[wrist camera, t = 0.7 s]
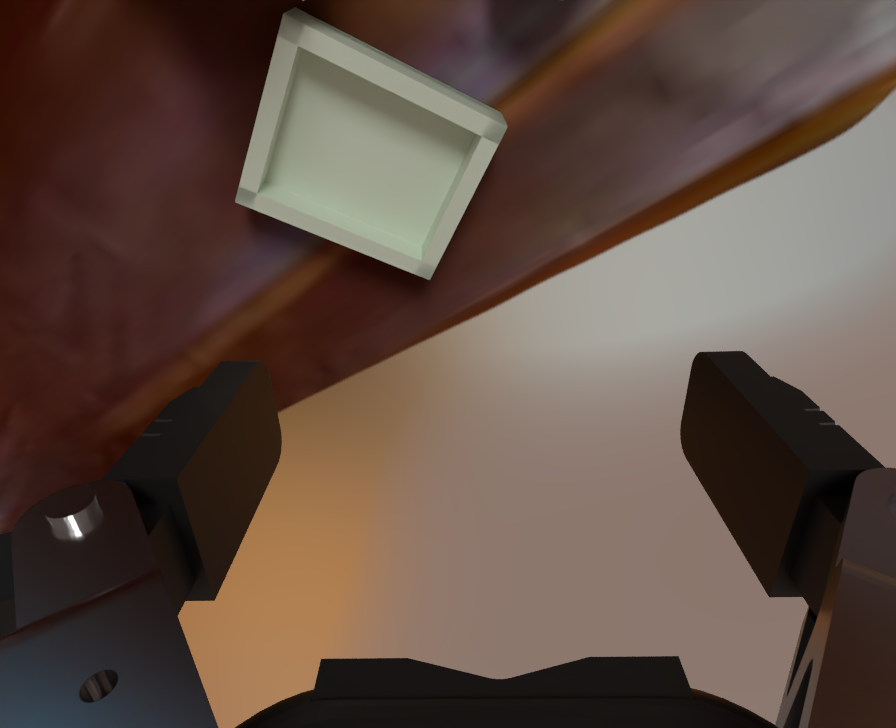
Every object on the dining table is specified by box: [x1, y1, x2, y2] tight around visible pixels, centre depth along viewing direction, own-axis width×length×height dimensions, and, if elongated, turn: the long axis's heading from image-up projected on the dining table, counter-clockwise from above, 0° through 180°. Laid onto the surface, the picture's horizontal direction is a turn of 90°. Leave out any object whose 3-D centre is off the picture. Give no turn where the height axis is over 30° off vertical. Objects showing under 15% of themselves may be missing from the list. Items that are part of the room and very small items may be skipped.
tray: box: [235, 7, 507, 280], centre depth 32 cm, size 12×10×3 cm
